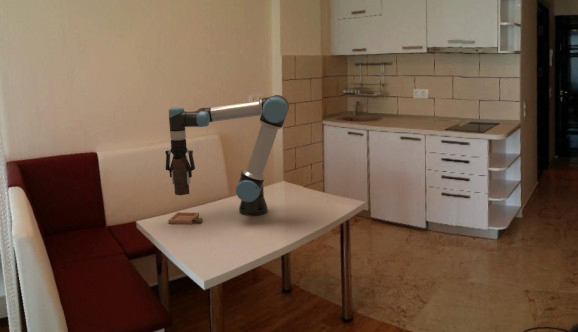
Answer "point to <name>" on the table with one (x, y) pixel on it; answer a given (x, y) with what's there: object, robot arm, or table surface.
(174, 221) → the dish
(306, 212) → the table surface
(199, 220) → the matchbox
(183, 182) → the dark brown tall piece
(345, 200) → the table surface
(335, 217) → the table surface
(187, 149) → the robot arm
